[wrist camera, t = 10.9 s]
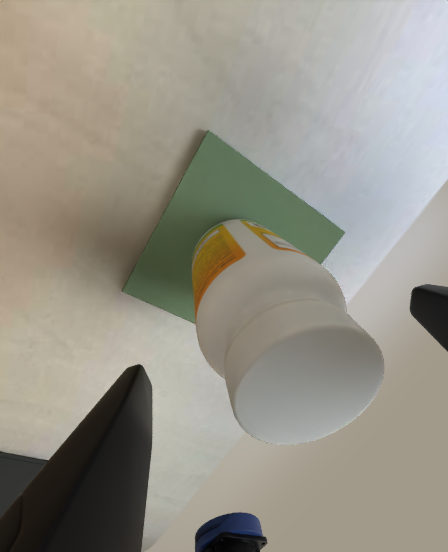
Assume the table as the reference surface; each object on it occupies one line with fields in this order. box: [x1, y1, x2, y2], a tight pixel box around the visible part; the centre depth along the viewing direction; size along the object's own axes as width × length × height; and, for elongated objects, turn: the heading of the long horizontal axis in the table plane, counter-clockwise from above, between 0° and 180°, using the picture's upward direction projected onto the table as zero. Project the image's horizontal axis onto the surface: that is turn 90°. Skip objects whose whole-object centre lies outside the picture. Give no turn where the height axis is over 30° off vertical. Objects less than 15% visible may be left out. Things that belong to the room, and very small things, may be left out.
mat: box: [122, 131, 345, 324], centre depth 15 cm, size 10×10×1 cm
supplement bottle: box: [191, 219, 384, 445], centre depth 10 cm, size 5×5×10 cm
